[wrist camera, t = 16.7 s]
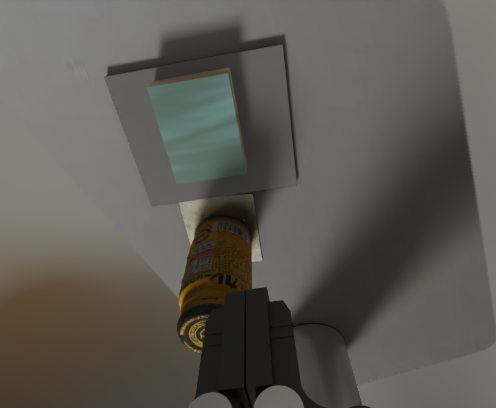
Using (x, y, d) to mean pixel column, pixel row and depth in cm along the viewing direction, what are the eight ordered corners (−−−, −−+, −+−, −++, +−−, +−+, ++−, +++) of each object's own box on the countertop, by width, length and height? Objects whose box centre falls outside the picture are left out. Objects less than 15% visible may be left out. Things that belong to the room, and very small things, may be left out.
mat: (296, 182, 31) (296, 185, 31) (153, 203, 32) (151, 206, 32) (281, 43, 25) (282, 44, 25) (106, 75, 26) (104, 77, 26)
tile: (146, 87, 24) (176, 184, 28) (228, 73, 23) (246, 173, 27) (154, 80, 26) (181, 172, 30) (229, 67, 25) (246, 162, 30)
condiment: (196, 265, 37) (176, 367, 26) (178, 200, 32) (146, 291, 22) (262, 259, 36) (267, 359, 26) (252, 192, 32) (255, 280, 22)
